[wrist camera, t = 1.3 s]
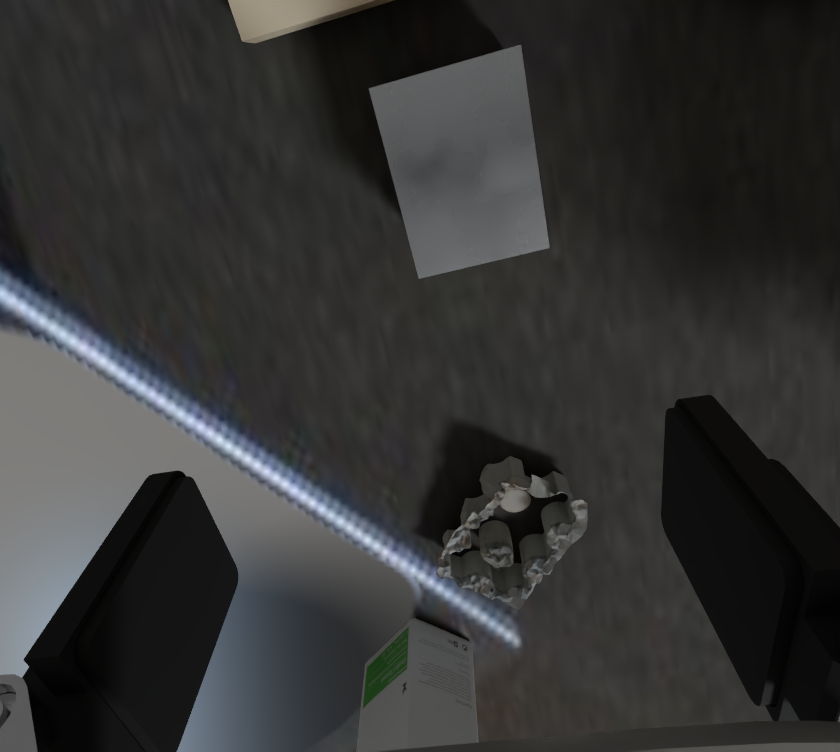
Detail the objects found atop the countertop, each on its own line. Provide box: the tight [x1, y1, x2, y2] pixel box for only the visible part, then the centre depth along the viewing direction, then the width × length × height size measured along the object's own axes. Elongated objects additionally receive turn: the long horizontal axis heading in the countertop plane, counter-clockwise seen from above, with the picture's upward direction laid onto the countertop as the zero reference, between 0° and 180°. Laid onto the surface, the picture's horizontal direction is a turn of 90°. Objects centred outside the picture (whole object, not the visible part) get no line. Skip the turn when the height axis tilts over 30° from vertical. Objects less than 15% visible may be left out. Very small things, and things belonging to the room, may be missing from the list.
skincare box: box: [357, 618, 478, 752], centre depth 41 cm, size 8×7×16 cm
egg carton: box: [436, 456, 587, 610], centre depth 39 cm, size 11×8×4 cm
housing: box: [369, 45, 550, 279], centre depth 26 cm, size 6×8×6 cm
